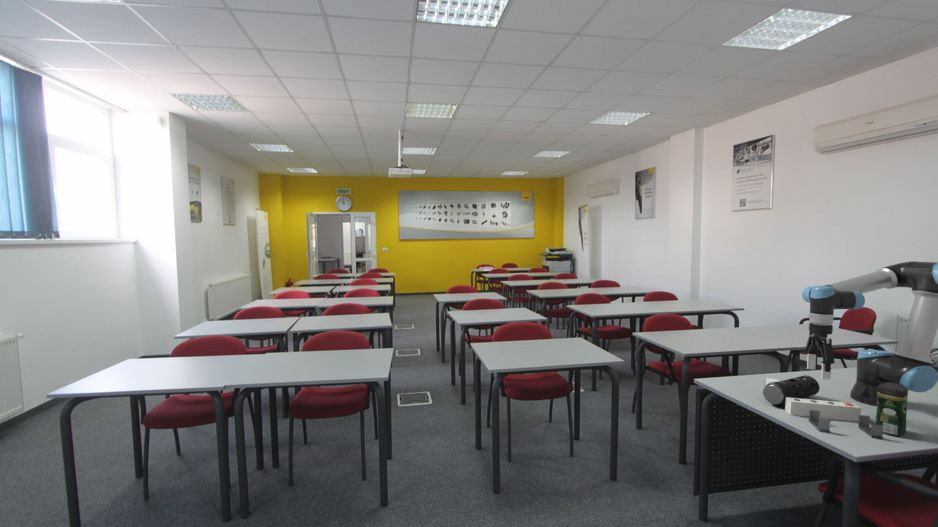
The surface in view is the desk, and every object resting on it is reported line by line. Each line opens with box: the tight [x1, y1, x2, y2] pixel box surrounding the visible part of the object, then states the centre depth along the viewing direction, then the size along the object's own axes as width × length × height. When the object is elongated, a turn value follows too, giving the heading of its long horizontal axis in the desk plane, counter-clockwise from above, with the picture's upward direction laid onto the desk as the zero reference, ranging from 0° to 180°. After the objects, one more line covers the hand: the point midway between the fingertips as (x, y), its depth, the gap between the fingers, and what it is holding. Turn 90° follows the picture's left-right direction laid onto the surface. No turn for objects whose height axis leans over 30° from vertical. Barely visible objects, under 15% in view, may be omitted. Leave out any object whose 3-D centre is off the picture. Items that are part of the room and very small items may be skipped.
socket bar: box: [784, 397, 862, 423], centre depth 174 cm, size 24×5×7 cm, turn 75°
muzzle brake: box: [762, 375, 820, 406], centre depth 189 cm, size 10×28×10 cm, turn 115°
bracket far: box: [808, 410, 831, 434], centre depth 164 cm, size 3×9×5 cm, turn 162°
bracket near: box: [857, 414, 884, 440], centre depth 159 cm, size 3×9×5 cm, turn 162°
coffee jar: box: [875, 382, 909, 437], centre depth 160 cm, size 10×8×19 cm
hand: (818, 374), depth 175 cm, fingers open, 13 cm apart
